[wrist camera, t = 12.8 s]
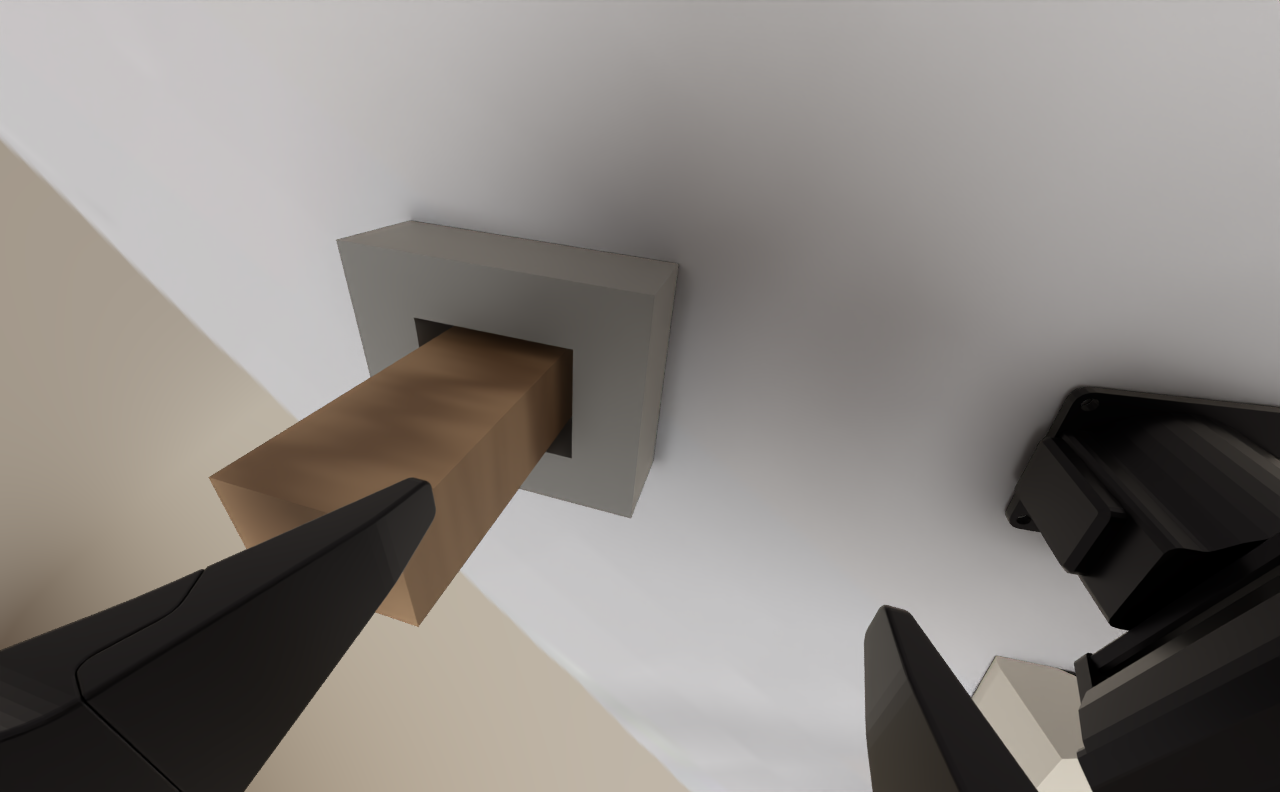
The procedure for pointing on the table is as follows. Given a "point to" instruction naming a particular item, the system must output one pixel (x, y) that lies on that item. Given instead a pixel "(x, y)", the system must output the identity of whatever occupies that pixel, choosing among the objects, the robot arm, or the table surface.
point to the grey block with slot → (533, 335)
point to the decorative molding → (1036, 721)
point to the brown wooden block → (414, 450)
